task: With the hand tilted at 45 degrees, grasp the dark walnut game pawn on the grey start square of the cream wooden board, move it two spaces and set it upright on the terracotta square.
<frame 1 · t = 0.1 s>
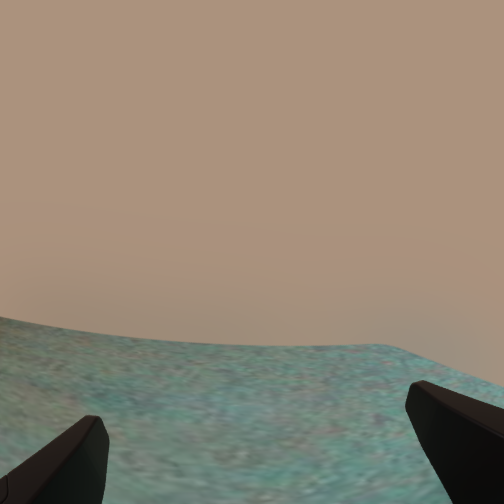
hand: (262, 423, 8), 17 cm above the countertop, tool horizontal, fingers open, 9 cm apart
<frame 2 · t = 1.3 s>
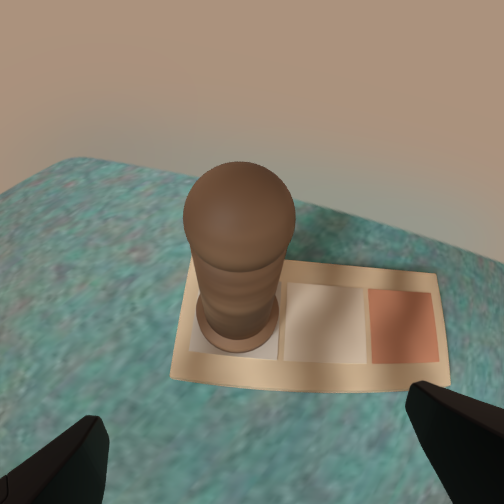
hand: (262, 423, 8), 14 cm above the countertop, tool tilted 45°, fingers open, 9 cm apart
board: (323, 327, 24), on the countertop
pawn: (237, 315, 23), point 1 cm above the countertop, touching board
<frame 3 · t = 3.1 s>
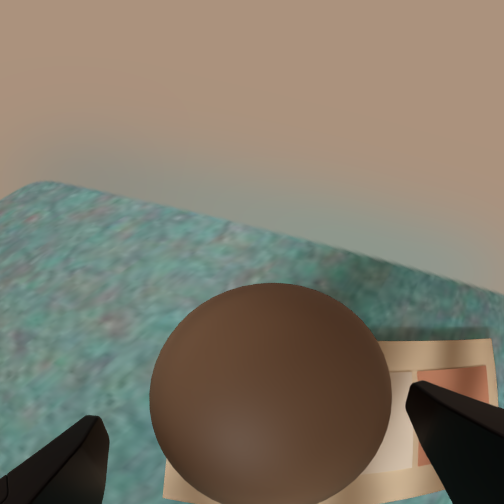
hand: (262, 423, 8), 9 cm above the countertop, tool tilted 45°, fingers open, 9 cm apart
board: (360, 424, 16), on the countertop
pawn: (249, 422, 15), point 1 cm above the countertop, touching board
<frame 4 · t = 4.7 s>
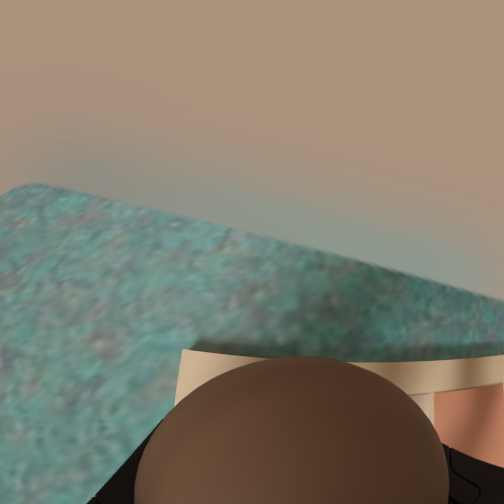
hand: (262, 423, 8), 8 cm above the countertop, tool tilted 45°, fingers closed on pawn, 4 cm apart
board: (372, 451, 14), on the countertop
pawn: (254, 454, 13), point 1 cm above the countertop, touching board, gripper
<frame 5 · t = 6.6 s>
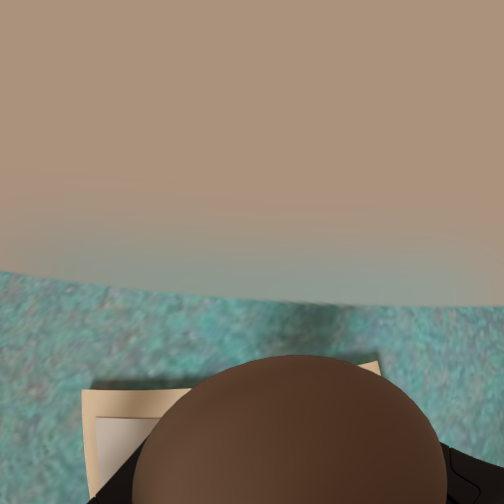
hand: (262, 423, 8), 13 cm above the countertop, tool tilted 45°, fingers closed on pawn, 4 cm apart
board: (238, 456, 18), on the countertop
pawn: (253, 453, 13), point 6 cm above the countertop, touching gripper
when the fingers open (10 cm above the countertop, at t = 8.8 s): pawn drops 1 cm, resting on board.
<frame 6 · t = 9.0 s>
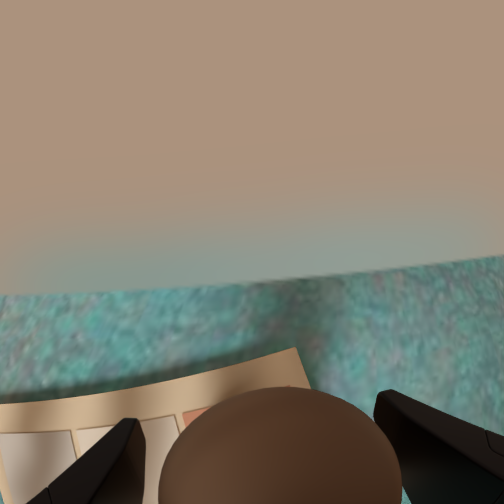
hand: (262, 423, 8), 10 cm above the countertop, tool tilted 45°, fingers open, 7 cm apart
board: (141, 473, 14), on the countertop
pawn: (252, 453, 14), point 1 cm above the countertop, touching board
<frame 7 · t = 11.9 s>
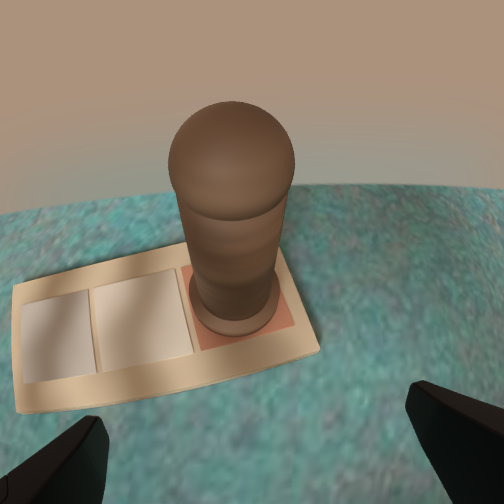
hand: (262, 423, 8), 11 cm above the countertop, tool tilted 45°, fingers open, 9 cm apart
board: (142, 324, 20), on the countertop
pawn: (234, 295, 21), point 1 cm above the countertop, touching board
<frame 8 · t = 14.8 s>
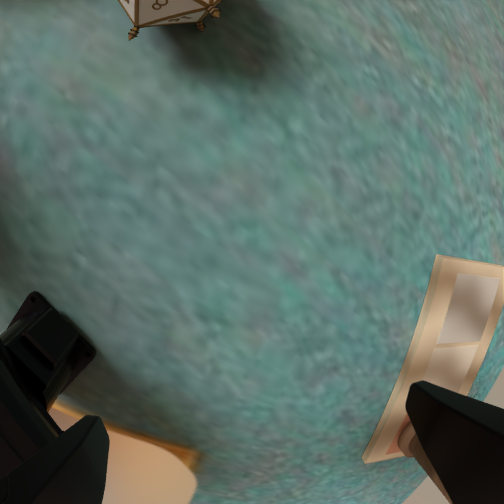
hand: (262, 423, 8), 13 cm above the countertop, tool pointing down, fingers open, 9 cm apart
board: (440, 370, 25), on the countertop
pawn: (421, 429, 25), point 1 cm above the countertop, touching board
game die: (181, 3, 16), on the countertop
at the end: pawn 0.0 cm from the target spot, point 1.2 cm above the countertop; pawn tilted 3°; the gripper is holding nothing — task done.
